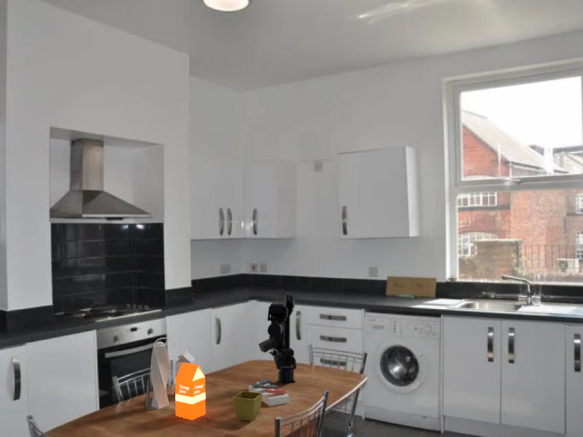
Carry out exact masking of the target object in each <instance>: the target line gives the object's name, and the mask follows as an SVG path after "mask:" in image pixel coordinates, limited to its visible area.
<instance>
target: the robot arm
mask: <svg viewBox="0 0 583 437" xmlns="http://www.w3.org/2000/svg"><path fill="white" fill-rule="evenodd" d="M295 303H296V302H295V297H294V296H292V295H291V294H290V292H288V291H278V293H277V296H276V299H275V301H273V302H271V304H270V305H269V306H268V311H267V321H268V322H269V321H270V324H269V325H268V327H267V334H268V335H269V336H268V338H267V339H265V340H263V341H262V342H260V343H258V346H259V349H260V352H262V353H268V354H270V355H271V356H272V357H273V360H274V363H275V368H276V369H277V370H278V374H277V376H278V377H277V378H278V379H277V381H278V382H279V383H281V384H289V383H295V382H296V380H294V379H295V377H294V375H295V374H294V373H295V372H294V371H295V370H296V369H297V359H296V358H295V350H294V349H293V348H291V316H292V314H293V312H294V308H295V306H296V304H295Z"/></svg>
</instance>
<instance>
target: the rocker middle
mask: <svg viewBox="0 0 583 437" xmlns="http://www.w3.org/2000/svg"><path fill="white" fill-rule="evenodd" d="M258 387H260V388H261V389H265V388H267V389H280V387H279V386H278V385H276V384H270V385H262V384H259V385H258Z"/></svg>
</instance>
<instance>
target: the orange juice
mask: <svg viewBox="0 0 583 437" xmlns="http://www.w3.org/2000/svg"><path fill="white" fill-rule="evenodd" d="M205 415H206V375H205V373H203V370H202V368H201V367H200V366H199V364H196V365H195V364H189V363H182V365H181V367H180V370H179V372H178V375H177V377H176V388H175V417H177V416H178V417H177V418H181V417H182V419H186V420H190V421H193V420H196V419H197V418H200V417H202V416H205Z"/></svg>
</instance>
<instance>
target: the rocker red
mask: <svg viewBox="0 0 583 437" xmlns="http://www.w3.org/2000/svg"><path fill="white" fill-rule="evenodd" d="M265 391H266V392H268V393H282V394H287V391H286V390H285V389H283V388H279V389H267V388H265Z"/></svg>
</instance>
